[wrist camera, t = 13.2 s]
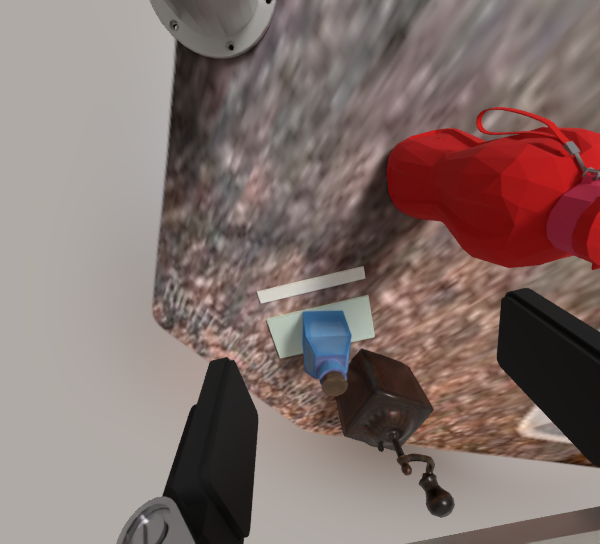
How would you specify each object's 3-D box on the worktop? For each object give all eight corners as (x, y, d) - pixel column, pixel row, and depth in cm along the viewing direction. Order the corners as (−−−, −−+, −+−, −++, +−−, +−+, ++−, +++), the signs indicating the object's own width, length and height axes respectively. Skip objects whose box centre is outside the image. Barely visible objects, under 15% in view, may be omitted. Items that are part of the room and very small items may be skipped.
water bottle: (455, 106, 34) (795, 53, 12) (456, 198, 39) (699, 286, 16) (378, 127, 35) (561, 116, 12) (388, 215, 39) (533, 325, 17)
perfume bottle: (342, 310, 45) (362, 366, 34) (340, 342, 48) (357, 403, 37) (302, 311, 45) (310, 368, 34) (302, 343, 47) (308, 405, 36)
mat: (266, 318, 45) (266, 319, 45) (367, 294, 44) (368, 295, 44) (280, 356, 49) (280, 358, 48) (374, 335, 48) (374, 336, 48)
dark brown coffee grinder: (329, 391, 53) (351, 505, 37) (361, 346, 49) (401, 452, 33) (399, 413, 57) (446, 525, 40) (433, 373, 53) (502, 480, 36)
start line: (257, 291, 43) (256, 292, 43) (363, 265, 42) (363, 266, 42) (261, 302, 44) (260, 303, 44) (365, 277, 43) (365, 278, 43)
